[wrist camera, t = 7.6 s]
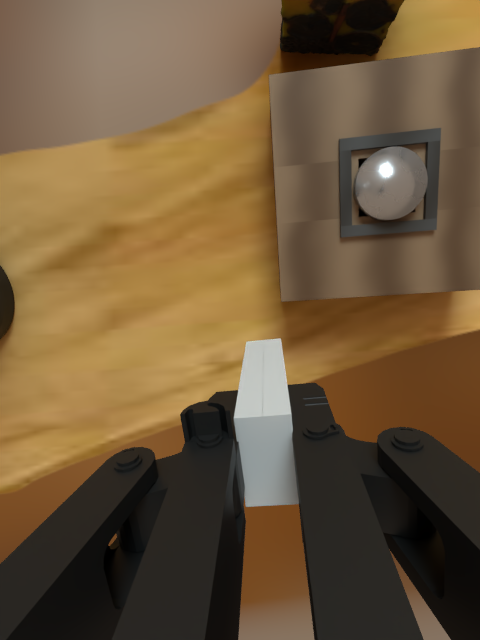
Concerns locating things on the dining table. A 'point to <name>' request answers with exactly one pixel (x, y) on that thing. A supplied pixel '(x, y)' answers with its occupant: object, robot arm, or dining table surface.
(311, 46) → the candle
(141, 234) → the dining table surface
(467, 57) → the socket block
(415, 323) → the dining table surface
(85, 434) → the dining table surface
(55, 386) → the dining table surface
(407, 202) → the grey piece
